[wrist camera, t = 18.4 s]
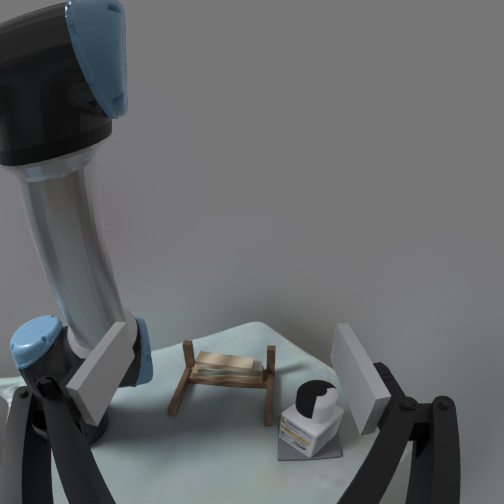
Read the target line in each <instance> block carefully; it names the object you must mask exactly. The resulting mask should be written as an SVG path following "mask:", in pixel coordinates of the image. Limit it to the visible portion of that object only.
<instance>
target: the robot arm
mask: <svg viewBox="0 0 504 504" xmlns="http://www.w3.org/2000/svg"><path fill="white" fill-rule="evenodd" d="M127 106H128V98H127V62H126V25H125V11H124V8H123V5H122V4H121V3H120V2H119V1H118V0H68V1H67V2H65V3H61V4H57V5H53V6H49V7H46V8H42V9H39V10H36V11H33V12H30V13H27V14H24V15H21V16H18V17H16V18H13V19H10V20H8V21H6V22H3V23H1V24H0V167H1V168H3V169H4V170H6V171H8V172H9V173H11V174H13V175H15V176H16V177H17V181H18V186H19V191H20V196H21V199H22V204H23V208H24V212H25V215H26V219H27V222H28V226H29V230H30V233H31V236H32V239H33V242H34V245H35V248H36V251H37V254H38V257H39V259H40V262H41V265H42V267H43V270H44V272H45V275H46V277H47V280H48V282H49V285H50V287H51V289H52V291H53V294H54V296H55V298H56V300H57V302H58V304H59V307H60V309H61V311H62V313H63V315H64V317H65V319H66V321H67V322H68V324H69V326H66V327H63V326H62V322H61V321H60V320H59V318H58V317H56V316H53V315H45V316H41V317H38V318H35V319H33V320H31V321H29V322H27V323H25V324H24V325H22V326H21V327H20V328H19V329H18V330H17V331H16V332H15V333H14V335H13V337H12V339H11V343H10V349H11V352H12V355H13V358H14V360H15V364H16V367H17V368H18V369H19V371H20V373H21V375H22V377H23V379H24V381H25V382H26V384H27V386H22V387H19V388H18V389H17V390H16V391H15V393H14V396H13V400H12V404H11V408H10V412H9V416H8V421H7V426H6V431H5V437H4V443H3V451H2V458H1V468H0V504H54V503H53V493H52V477H51V448H52V452H53V456H54V460H55V463H56V467H57V470H58V473H59V477H60V480H61V483H62V486H63V488H64V491H65V494H66V497H67V499H68V502H69V504H116V503H115V501H114V499H113V497H112V495H111V493H110V492H109V490H108V488H107V486H106V484H105V482H104V479H103V477H102V475H101V473H100V471H99V469H98V466H97V464H96V462H95V459H94V457H93V454H92V452H91V449H90V447H89V445H90V444H92V443H94V442H95V441H97V440H98V439H99V438H100V437H101V436H102V435H103V433H104V432H105V430H106V427H107V424H108V416H107V412H106V409H107V407H108V405H109V403H110V401H111V399H112V397H113V396H114V394H115V392H116V390H117V388H121V387H129V386H131V387H136V386H137V385H141V384H146V383H148V382H150V381H151V380H152V378H153V364H152V358H151V349H150V342H149V336H148V331H147V326H146V323H145V321H144V319H142V318H140V317H139V318H137V317H134V316H133V314H132V313H131V311H130V310H129V309H128V308H126V307H125V306H123V305H122V304H121V301H120V298H119V294H118V290H117V286H116V282H115V278H114V273H113V268H112V264H111V259H110V254H109V249H108V243H107V238H106V233H105V226H104V219H103V212H102V205H101V197H100V187H99V178H98V164H97V154H98V152H99V151H100V150H101V148H102V147H103V146H104V145H105V143H106V142H107V141H108V140H109V139H110V138H111V136H112V119H118V118H119V117H121V116H123V115H125V114H126V112H127ZM330 359H331V362H332V364H333V367H334V369H335V372H336V374H337V377H338V379H339V382H340V384H341V387H342V389H343V392H344V394H345V397H346V399H347V402H348V404H349V407H350V410H351V412H352V415H353V417H354V420H355V423H356V425H357V428H358V431H359V433H360V435H364V434H369V433H373V432H375V430H376V428H377V426H378V427H379V429H380V432H379V434H378V436H377V438H376V440H375V442H374V444H373V446H372V448H371V450H370V451H369V453H368V455H367V457H366V459H365V460H364V462H363V464H362V466H361V467H360V469H359V471H358V472H357V474H356V475H355V477H354V479H353V480H352V482H351V483H350V485H349V486H348V488H347V489H346V491H345V492H344V494H343V495H342V497H341V498H340V500H339V501H338V502H337V504H379V502H380V500H381V498H382V497H383V494H384V493H385V491H386V489H387V487H388V485H389V483H390V481H391V479H392V477H393V474H394V473H395V470H396V468H397V466H398V464H399V461H400V459H401V457H402V454H403V452H404V450H405V447H406V444H407V442H408V441H413V450H412V462H411V470H410V478H409V485H408V491H407V497H406V503H405V504H459V501H460V447H459V434H458V424H457V416H456V408H455V404H454V401H453V400H452V399H451V398H449V397H447V396H438V397H436V398H435V399H434V400H433V402H432V403H429V404H427V403H426V404H420V403H418V402H417V401H416V400H415V399H413V398H411V397H406V396H405V394H404V393H403V391H402V390H401V388H400V386H399V385H398V383H397V381H396V380H395V379H394V377H393V375H392V374H391V372H390V370H389V369H388V368H387V366H385V365H384V364H382V363H381V362H379V363H373V364H372V362H371V360H370V359H369V357H368V355H367V353H366V352H365V350H364V348H363V347H362V345H361V344H360V342H359V340H358V339H357V337H356V335H355V334H354V332H353V330H352V329H351V327H350V326H349V324H348V323H341V324H336V330H335V335H334V342H333V347H332V353H331V358H330Z"/></svg>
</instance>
